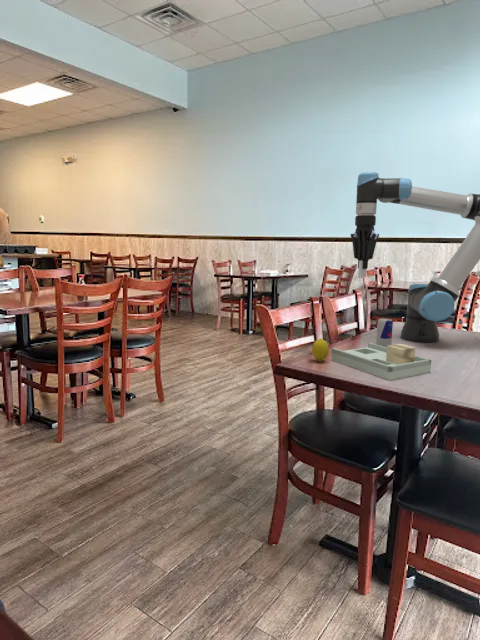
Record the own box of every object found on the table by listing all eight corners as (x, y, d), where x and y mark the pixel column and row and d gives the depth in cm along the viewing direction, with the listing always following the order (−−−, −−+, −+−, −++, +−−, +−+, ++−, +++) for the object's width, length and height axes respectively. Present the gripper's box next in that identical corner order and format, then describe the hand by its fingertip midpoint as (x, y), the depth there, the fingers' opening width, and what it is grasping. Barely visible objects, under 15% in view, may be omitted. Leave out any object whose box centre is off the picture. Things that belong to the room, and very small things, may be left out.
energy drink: (391, 353, 163) (393, 321, 161) (376, 352, 164) (378, 320, 162) (389, 350, 168) (392, 318, 166) (375, 349, 169) (377, 318, 167)
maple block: (399, 358, 147) (400, 343, 146) (414, 363, 142) (415, 347, 141) (386, 360, 144) (387, 345, 143) (400, 365, 139) (402, 349, 138)
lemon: (322, 358, 155) (323, 336, 154) (331, 362, 150) (332, 339, 149) (308, 360, 153) (309, 337, 152) (316, 364, 148) (317, 340, 147)
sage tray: (369, 353, 163) (370, 342, 162) (430, 372, 141) (431, 359, 140) (331, 359, 154) (331, 348, 154) (389, 380, 132) (390, 367, 131)
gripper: (346, 215, 174) (343, 276, 178) (371, 214, 162) (367, 279, 167) (360, 216, 177) (357, 275, 181) (386, 214, 166) (381, 278, 170)
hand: (362, 277), depth 174 cm, fingers closed
